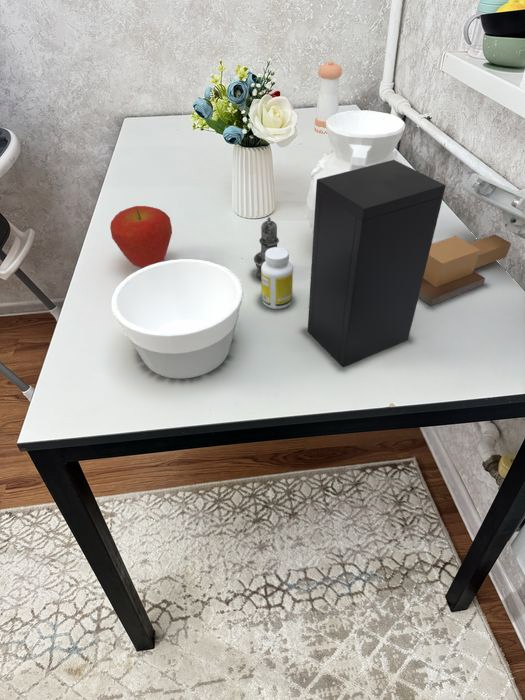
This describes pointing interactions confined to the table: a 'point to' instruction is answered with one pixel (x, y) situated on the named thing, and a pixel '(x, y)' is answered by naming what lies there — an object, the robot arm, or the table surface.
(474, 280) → the board
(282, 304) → the supplement bottle
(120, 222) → the apple
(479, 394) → the table surface
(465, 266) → the brown stepped block
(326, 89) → the salt shaker
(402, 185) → the tall black box
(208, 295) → the bowl
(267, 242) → the dark grey tall piece
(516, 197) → the robot arm
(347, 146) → the pitcher
